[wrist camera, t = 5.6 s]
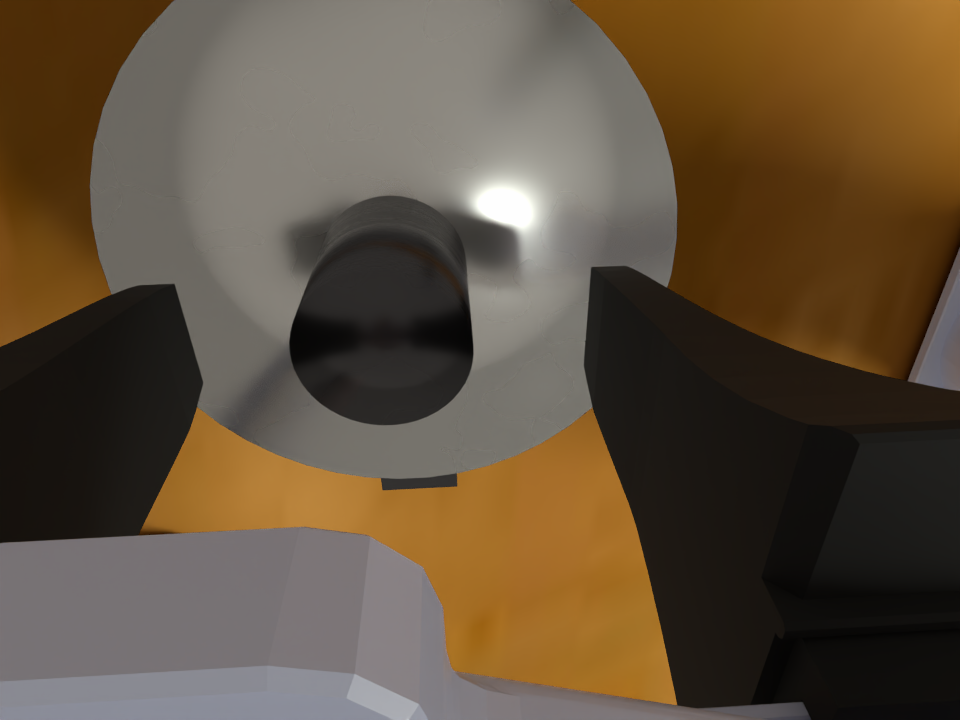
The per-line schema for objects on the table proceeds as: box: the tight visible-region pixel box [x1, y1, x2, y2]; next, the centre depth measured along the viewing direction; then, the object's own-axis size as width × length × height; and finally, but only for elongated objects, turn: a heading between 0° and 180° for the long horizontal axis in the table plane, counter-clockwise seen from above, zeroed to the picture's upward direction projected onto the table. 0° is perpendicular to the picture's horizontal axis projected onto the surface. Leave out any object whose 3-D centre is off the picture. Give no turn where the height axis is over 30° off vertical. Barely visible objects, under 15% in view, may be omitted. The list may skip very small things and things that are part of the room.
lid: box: [90, 0, 677, 479], centre depth 12 cm, size 11×11×4 cm
